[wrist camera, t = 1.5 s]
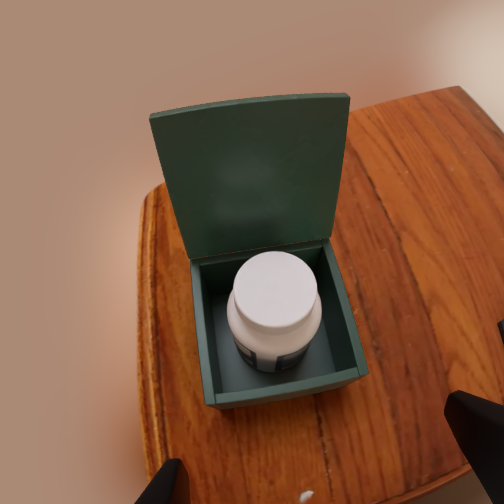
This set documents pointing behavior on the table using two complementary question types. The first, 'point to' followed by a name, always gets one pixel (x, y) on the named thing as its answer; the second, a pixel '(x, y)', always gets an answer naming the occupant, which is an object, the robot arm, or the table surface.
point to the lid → (253, 169)
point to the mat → (501, 328)
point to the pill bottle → (274, 311)
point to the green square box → (318, 353)
